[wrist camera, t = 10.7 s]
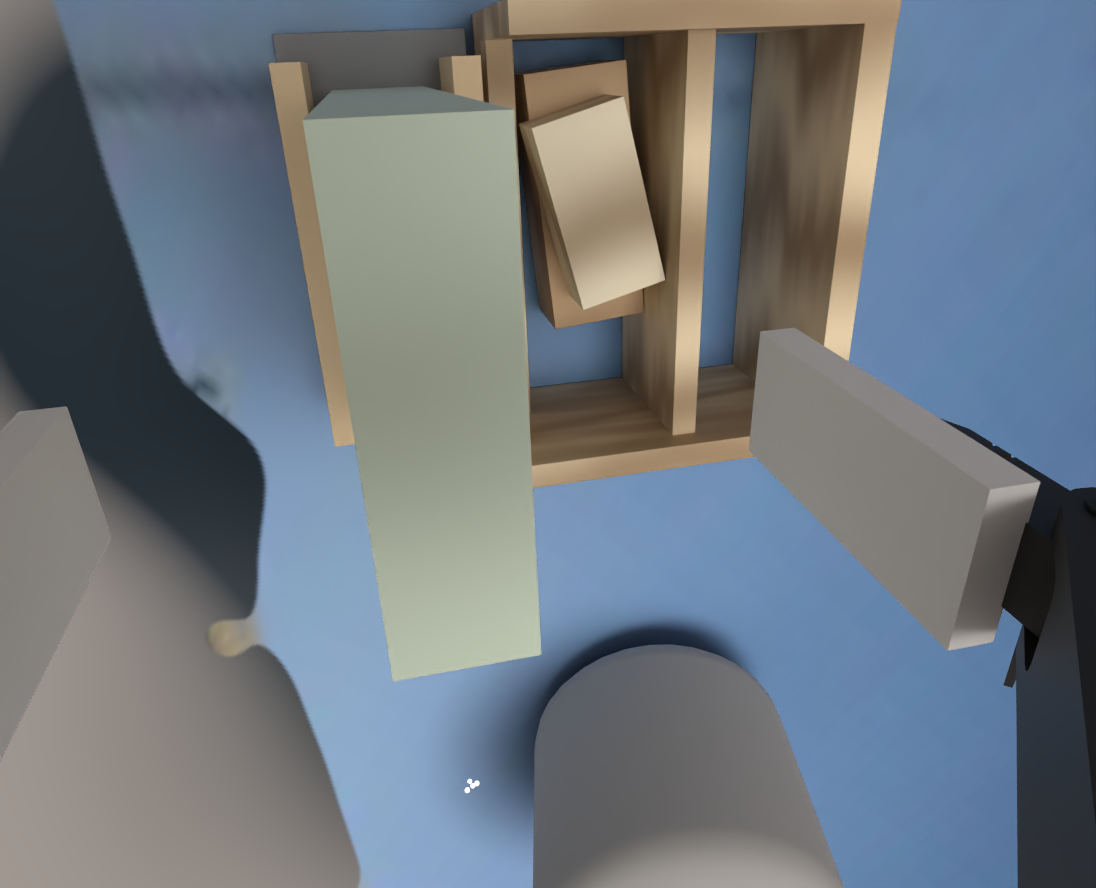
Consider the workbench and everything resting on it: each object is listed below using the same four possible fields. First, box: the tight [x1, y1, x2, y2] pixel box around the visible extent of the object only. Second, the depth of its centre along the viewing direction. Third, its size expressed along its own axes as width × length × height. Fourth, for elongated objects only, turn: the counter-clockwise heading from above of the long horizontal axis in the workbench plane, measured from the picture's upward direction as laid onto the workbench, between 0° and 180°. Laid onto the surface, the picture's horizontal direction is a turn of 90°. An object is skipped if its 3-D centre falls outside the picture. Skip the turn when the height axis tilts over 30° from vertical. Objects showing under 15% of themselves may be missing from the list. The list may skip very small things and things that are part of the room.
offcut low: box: [514, 60, 644, 329], centre depth 33 cm, size 10×4×4 cm, turn 7°
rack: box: [472, 0, 901, 488], centre depth 32 cm, size 17×13×8 cm
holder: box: [268, 28, 484, 446], centre depth 31 cm, size 16×7×5 cm, turn 2°
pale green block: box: [303, 86, 541, 682], centre depth 24 cm, size 12×4×20 cm, turn 2°
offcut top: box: [519, 94, 665, 310], centre depth 30 cm, size 7×4×2 cm, turn 17°
